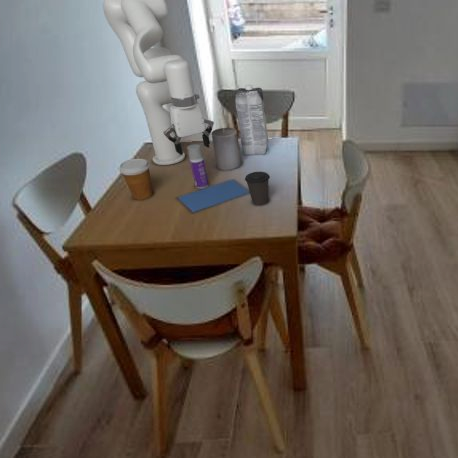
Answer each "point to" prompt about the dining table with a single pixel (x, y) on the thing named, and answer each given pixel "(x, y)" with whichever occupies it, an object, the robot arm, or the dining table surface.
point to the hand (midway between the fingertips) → (193, 150)
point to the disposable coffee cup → (137, 177)
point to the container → (197, 166)
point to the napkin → (212, 195)
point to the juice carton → (251, 120)
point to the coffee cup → (258, 187)
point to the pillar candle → (226, 148)
